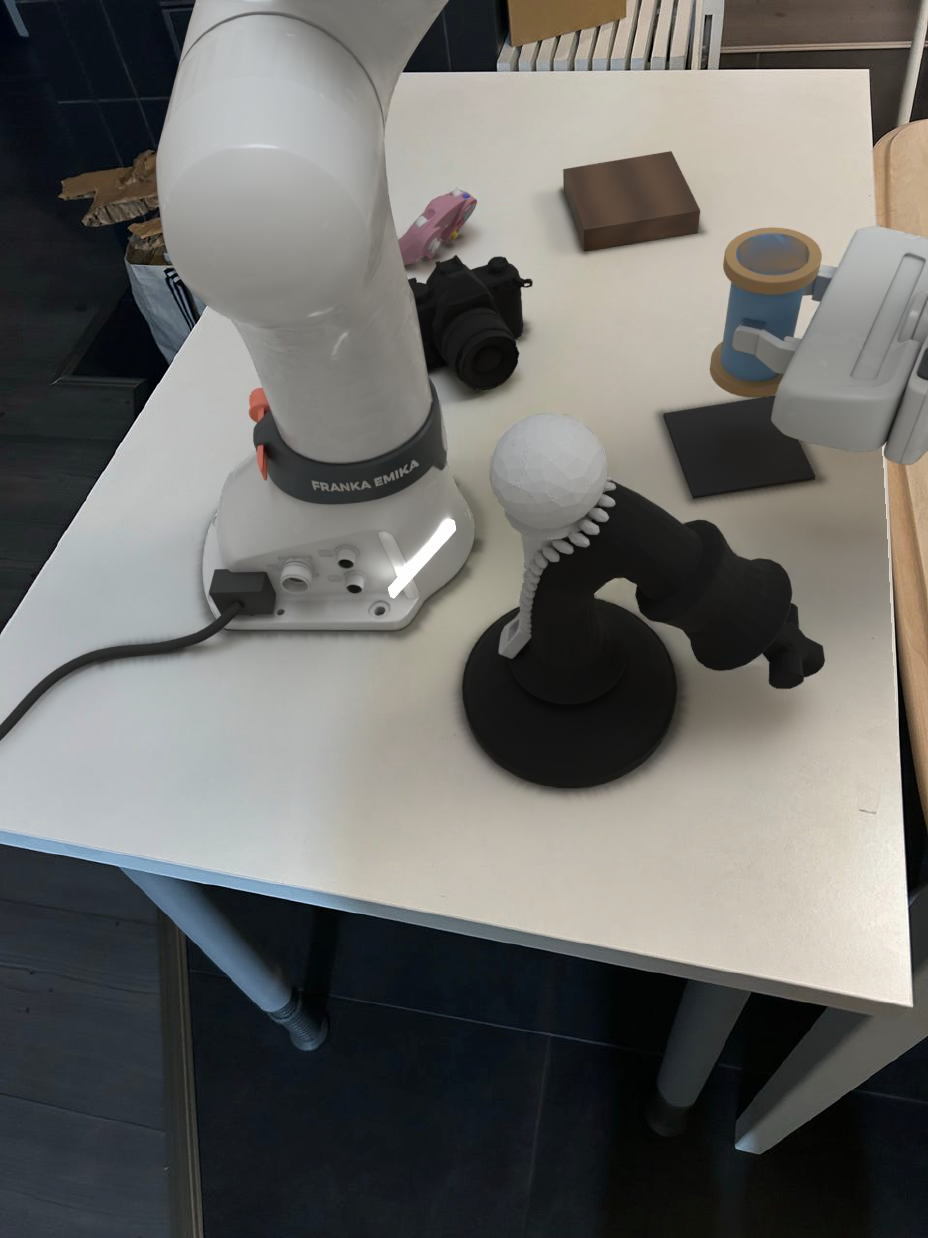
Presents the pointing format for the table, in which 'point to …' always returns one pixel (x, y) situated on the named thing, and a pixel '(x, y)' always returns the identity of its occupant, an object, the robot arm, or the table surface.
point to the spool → (762, 301)
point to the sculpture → (609, 614)
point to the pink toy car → (436, 225)
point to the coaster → (735, 448)
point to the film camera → (471, 319)
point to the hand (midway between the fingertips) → (750, 306)
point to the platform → (630, 201)
